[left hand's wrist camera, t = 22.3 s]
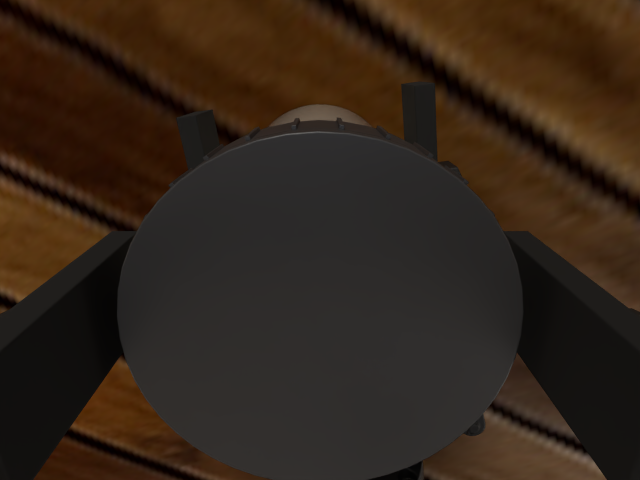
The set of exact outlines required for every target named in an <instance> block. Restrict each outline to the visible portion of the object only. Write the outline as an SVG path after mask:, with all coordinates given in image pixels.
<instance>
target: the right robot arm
mask: <svg viewBox="0 0 640 480" xmlns="http://www.w3.org/2000/svg"><path fill="white" fill-rule="evenodd" d="M401 86H402V103H403V120H404V138H405V141H406V142H408V143H410V144H412V145H413V143H414V142H416V143H417V144H419V145H420V146H422V147H423V148H424V149H426V150H427V151H429V152H430V153H431V154H433V155H434V156H433V157H432V158H433V159H434V160H436V161H437V137H436V107H435V83H428V82H413V83H406V84H401ZM176 119H177V123H178V128H179V132H180V136H181V140H182V144H183V149H184V153H185V157H186V161H187V166H188V170H189V169H191V168H193V169H194V168H196V167H197V166H198V165H200V164H201V163H202V162H204V161H205V160H204V159H203V157H204V156H206V155H207V154H208V153H210V152H211V151H213V150H214V149H215V148H217V147H218V146H220V144H219V139H218V135H217V130H216V125H215V120H214V115H213V110H206V111H199V112H194V113H191V114H187V115H184V116H181V117H178V118H176ZM438 163H440V164H441V165H442V166H445V165H446V166H448V167H449V168H451V169H452V170H453V171H455V172H456V173H457V174H459V175H460V176H461V174H460V172H459V169H458V167H456V166H455V165H453V164H452V163H450V162H449V161H444V162H438ZM461 177H462V176H461ZM484 429H485V420H484V415H483V414H482V415H481V416H480V417H479V418H478V419H477V420H476V421H475V422H474V423H473V425H472V426H471V427H470V428H469V429H468V430H467V431H465V432H464V434H466V435H469V436H476V435H478V434H480V433H481V432H483V431H484ZM368 480H424V473H423V460H422V461H420V462H418V463H416V464H414V465H412V466H410V467H407V468H404V469H402V470H399V471H396V472H393V473H391V474H388V475H384V476H380V477H376V478H372V479H368Z"/></svg>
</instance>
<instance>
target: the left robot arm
mask: <svg viewBox="0 0 640 480" xmlns="http://www.w3.org/2000/svg"><path fill="white" fill-rule="evenodd" d="M503 232H504V234H505V235H506V237H507V239H508V241H509V243H510V246H511V249H512V251H513V254H514V257H515V259H516V262H517V265H518V270H519V275H520V280H521V284H522V294H523V321H522V331H521V337H520V341H519V345H518V349H517V353H518V354H519V356H520V357H521V358H522V360H523V361H524V363H525V364H526V365H527V367H528V368H529V370H530V371H531V373H532V374H533V375H534V377H535V378H536V380H537V381H538V383H539V384H540V385H541V387H542V388H543V390H544V391H545V392H546V394H547V395H548V397H549V398H550V400H551V401H552V402H553V404H554V405H555V407H556V408H557V409H558V411H559V412H560V414H561V415H562V417H563V418H564V419H565V421H566V422H567V424H568V425H569V426H570V428H571V429H572V431H573V432H574V434H575V435H576V436H577V438H578V439H579V441H580V442H581V443H582V445H583V446H584V448H585V449H586V451H587V452H588V453H589V455H590V456H591V458H592V459H593V460H594V462H595V463H596V465H597V466H598V468H599V469H600V470H601V472H602V473H603V475H604V476H605V477H606V479H607V480H640V312H639V311H636V310H634V309H632V308H628V307H626V306H625V305H624V304H622V303H621V302H620V301H618V300H617V299H616V298H614V297H613V296H612V295H610V294H609V293H608V292H607V291H605V290H604V289H603V288H601V287H600V286H599V285H597V284H596V283H595V282H593V281H592V280H591V279H590V278H588V277H587V276H586V275H584V274H583V273H582V272H580V271H579V270H578V269H576V268H575V267H574V266H572V265H571V264H570V263H569V262H567V261H566V260H565V259H563V258H562V257H561V256H559V255H558V254H557V253H555V252H554V251H553V250H552V249H550V248H549V247H548V246H546V245H545V244H544V243H542V242H541V241H540V240H538V239H537V238H536V237H534V236H533V235H532V234H531V233H529V232H528V231H503ZM136 233H137V231H112V232H111V233H109V234H108V235H107V236H106V237H104V238H103V239H102V240H100V241H99V242H98V243H96V244H95V245H94V246H92V247H91V248H90V249H88V250H87V251H86V252H85V253H83V254H82V255H81V256H79V257H78V258H77V259H75V260H74V261H73V262H71V263H70V264H69V265H68V266H66V267H65V268H64V269H62V270H61V271H60V272H58V273H57V274H56V275H54V276H53V277H52V278H50V279H49V280H48V281H47V282H45V283H44V284H43V285H41V286H40V287H39V288H37V289H36V290H35V291H33V292H32V293H31V294H30V295H28V296H27V297H26V298H24V299H23V300H22V301H20V302H19V303H18V304H16V305H15V306H14V307H12V308H11V309H10V310H7V311H5V312H3V313H1V314H0V480H33V479H34V477H35V476H36V475H37V473H38V472H39V470H40V469H41V468H42V466H43V465H44V463H45V462H46V460H47V459H48V458H49V456H50V455H51V453H52V452H53V451H54V449H55V448H56V446H57V445H58V443H59V442H60V441H61V439H62V438H63V436H64V435H65V434H66V432H67V431H68V429H69V428H70V426H71V425H72V424H73V422H74V421H75V419H76V418H77V417H78V415H79V414H80V412H81V411H82V409H83V408H84V407H85V405H86V404H87V402H88V401H89V400H90V398H91V397H92V395H93V394H94V392H95V391H96V390H97V388H98V387H99V385H100V384H101V383H102V381H103V380H104V378H105V377H106V375H107V374H108V373H109V371H110V370H111V368H112V367H113V365H114V364H115V363H116V361H117V360H118V358H119V357H120V356H121V354H122V353H123V348H122V344H121V341H120V336H119V328H118V320H117V297H118V287H119V281H120V276H121V270H122V266H123V263H124V261H125V258H126V255H127V252H128V249H129V246H130V244H131V242H132V240H133V238H134V236H135V234H136Z"/></svg>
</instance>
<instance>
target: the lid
mask: <svg viewBox="0 0 640 480" xmlns="http://www.w3.org/2000/svg"><path fill="white" fill-rule="evenodd" d="M433 156H434V155H433V154H431V153H430V152H429V151H427V150H426V149H424V148H423V147H422V146H420V145H419V144H417V143H416V142H414V143H413V145H412V144H410V143H408V142H406V141H404V140H402V139H400V138H398V137H396V136H394V135H392V134H390V133H388V132H387V131H386V130H384V129H383V128H382V127H381V126H377V128H376V129H375V128H372V127H369V126H365V125H360V124H354V123H349V122H344V121H342V119H341V118H338V117H337V119H336V121H328V120H311V121H300V118H295V120H294V121H293V122H290V123H286V124H281V125H276V126H272V127H267V128H265V129H262V130H260V128H259V127H257V128H255V129H253V130H252V131H251V132H250V133H249V134H248V135H246V136H243V137H241V138H240V139H238V140H236V141H234V142H232V143H230V144H228V145H226V146H225V147H224V145H223V144H221V145H220V146H218V147H217V148H215V149H214V150H213V151H211V152H210V153H208V154H207V155H206V156H204V157H203V159H204V160H205V161H204V162H202V163H201V164H200V165H198V166H197V167H196V168H194V169H193V168H191V169H189V170H188V171H187V172H185V173H184V174H182V175H181V176H180V177H178V178H177V179H176V180H174V181H173V182H172V183H171V184H170V185H169V187H170V189H169V190H168V191H167V192H166V193H165V194H164V195H163V196H162V197H161V198H160V199H159V200H158V201H157V203H156V204H155V205H154V207H153V208H152V209H151V211H150V212H149V213H148V214H147V215H145V217H144V220H143V221H142V223H141V225H140V227H139V229H138V231H137V233H136V234H135V236H134V238H133V240H132V242H131V244H130V246H129V249H128V252H127V255H126V258H125V261H124V263H123V266H122V270H121V276H120V281H119V287H118V297H117V320H118V328H119V336H120V341H121V344H122V348H123V352H124V355H125V359H126V362H127V364H128V366H129V369H130V371H131V373H132V375H133V378H134V380H135V382H136V384H137V385H138V387H139V388H140V390H141V392H142V393H143V395H144V397H145V398H146V400H147V401H148V402H149V404H150V405H151V406H152V407H153V409H154V410H155V411H156V412H157V414H158V415H159V416H160V417H161V418H162V419H163V420H164V421H165V422H166V423H167V424H168V425H169V426H170V427H171V428H172V429H173V430H174V431H175V432H176V433H177V434H178V435H180V436H181V437H182V438H184V439H185V440H186V441H187V442H189V443H190V444H191V445H193V446H194V447H196V448H197V449H199V450H200V451H202V452H204V453H205V454H207V455H209V456H210V457H212V458H214V459H216V460H218V461H220V462H222V463H224V464H227V465H229V466H231V467H233V468H235V469H238V470H241V471H244V472H247V473H250V474H253V475H256V476H260V477H264V478H268V479H272V480H368V479H372V478H376V477H380V476H384V475H388V474H391V473H393V472H396V471H399V470H402V469H404V468H407V467H410V466H412V465H414V464H416V463H418V462H420V461H422V460H424V459H426V458H428V457H430V456H432V455H433V454H435V453H437V452H438V451H440V450H441V449H443V448H444V447H446V446H448V445H449V444H450V443H452V442H453V441H454V440H455V439H457V438H458V437H459V436H460V435H462V434H463V433H464V432H465V431H467V430H468V429H469V428H470V427H471V426H472V425H473V423H474V422H475V421H476V420H477V419H478V418H479V417H480V416H481V415H482V414H483V413H484V412H485V410H486V409H487V408H488V406H489V405H490V404H491V403H492V401H493V400H494V399H495V397H496V396H497V394H498V392H499V391H500V389H501V387H502V385H503V384H504V382H505V380H506V379H507V376H508V374H509V372H510V369H511V367H512V364H513V362H514V359H515V357H516V353H517V349H518V345H519V341H520V337H521V331H522V321H523V294H522V284H521V280H520V275H519V270H518V265H517V262H516V259H515V257H514V254H513V251H512V249H511V246H510V243H509V241H508V239H507V237H506V235H505V234H504V232H503V230H502V228H501V227H500V225H499V223H498V221H497V220H496V218H495V217H494V216H495V215H494V213H493V212H492V211H491V210H489V209H488V208H487V207H486V205H485V204H484V203H483V201H482V200H481V199H480V198H479V197H478V196H477V195H476V194H475V193H474V192H473V191H472V190H471V189H470V188H469V187H468V186H467V184H468V183H469V182H468V181H467V180H466V179H464V178H463V177H461V176H460V175H459V174H457V173H456V172H455V171H453V170H452V169H451V168H449V167H448V166H446V165H445V166H442V165H441V164H440V163H438V162H437V161H436V160H434V159H433V158H432V157H433Z"/></svg>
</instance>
